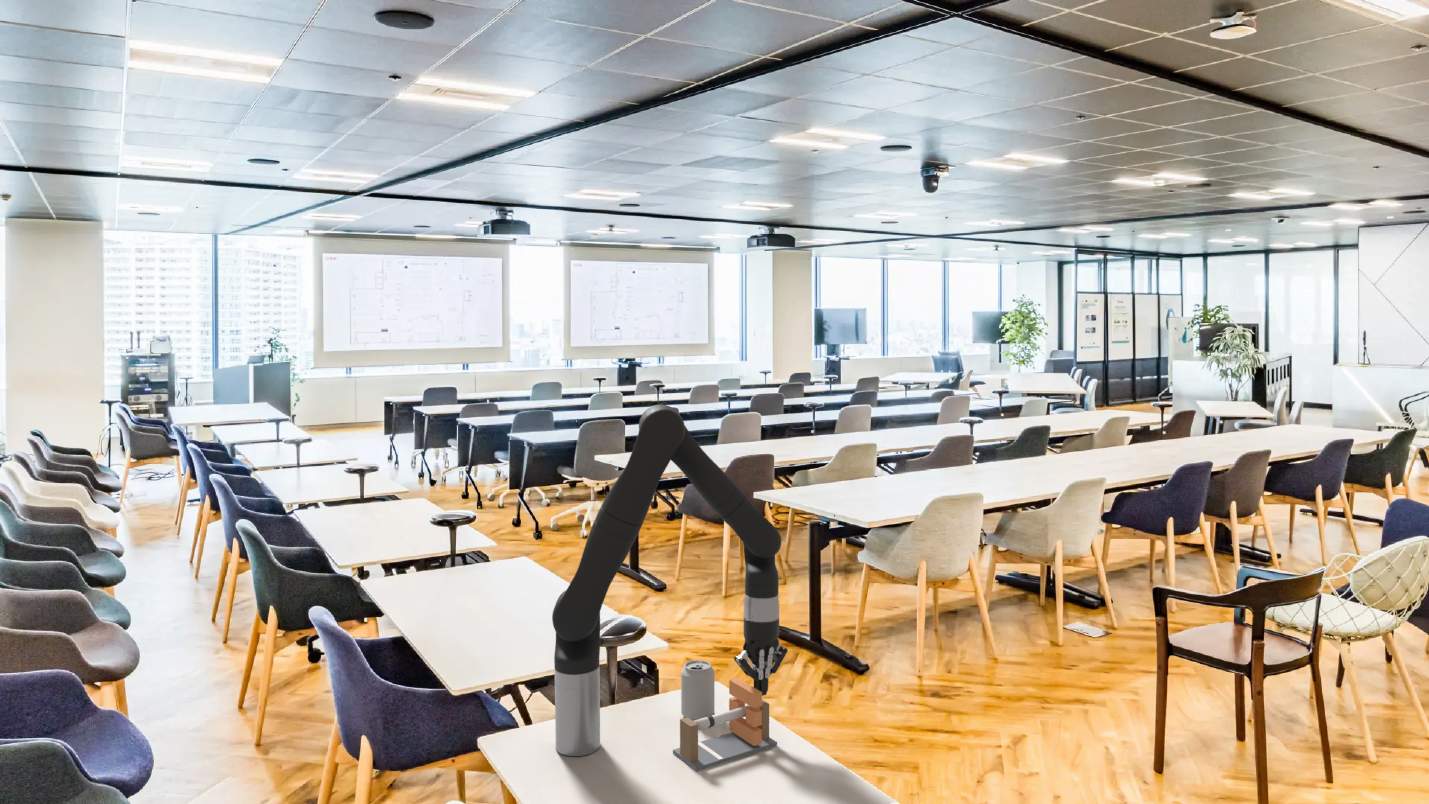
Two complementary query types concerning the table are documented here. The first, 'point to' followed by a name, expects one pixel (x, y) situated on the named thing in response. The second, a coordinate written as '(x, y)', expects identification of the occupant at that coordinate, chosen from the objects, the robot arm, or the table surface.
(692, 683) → the can
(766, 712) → the pipe stand
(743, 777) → the table surface
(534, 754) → the table surface
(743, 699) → the collar
